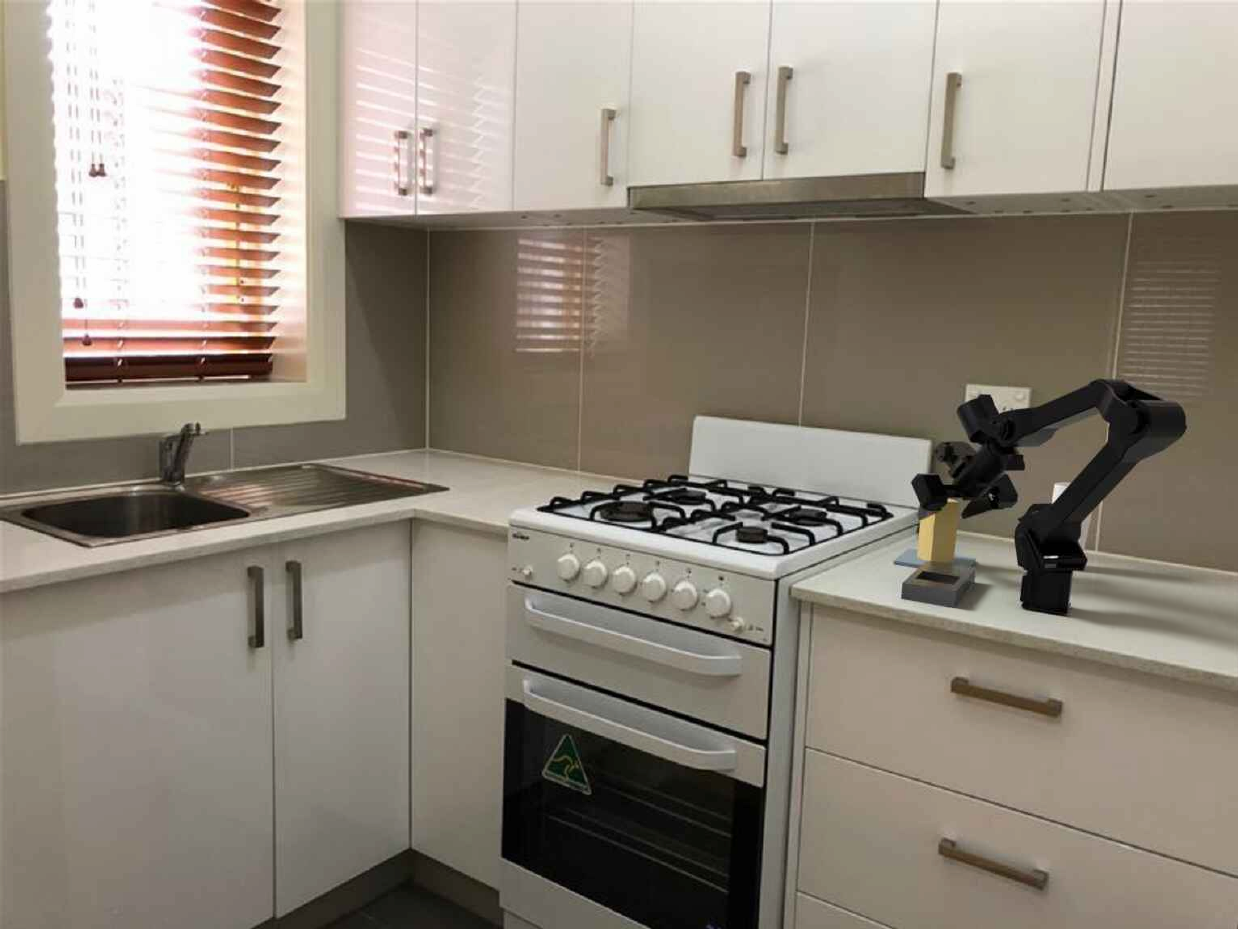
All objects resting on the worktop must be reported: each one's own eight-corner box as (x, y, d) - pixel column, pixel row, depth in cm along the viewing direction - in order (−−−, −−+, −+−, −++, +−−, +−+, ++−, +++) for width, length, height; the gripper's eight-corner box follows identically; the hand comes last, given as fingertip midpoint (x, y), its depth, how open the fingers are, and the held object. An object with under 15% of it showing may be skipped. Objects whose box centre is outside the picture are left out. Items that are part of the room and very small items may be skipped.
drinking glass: (1043, 567, 179) (1052, 485, 177) (1046, 560, 185) (1055, 480, 182) (1084, 573, 176) (1094, 490, 173) (1086, 565, 182) (1096, 485, 179)
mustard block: (953, 562, 177) (959, 502, 175) (930, 562, 176) (936, 502, 174) (939, 556, 181) (945, 497, 180) (916, 556, 180) (922, 497, 179)
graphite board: (974, 582, 166) (976, 567, 166) (954, 607, 150) (955, 591, 150) (925, 574, 170) (927, 560, 169) (901, 598, 154) (902, 582, 154)
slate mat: (975, 561, 181) (975, 558, 181) (963, 575, 171) (963, 571, 170) (908, 551, 187) (909, 548, 187) (893, 563, 176) (893, 560, 176)
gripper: (1013, 428, 172) (967, 480, 184) (922, 427, 167) (880, 481, 179) (1041, 480, 166) (991, 530, 178) (947, 480, 160) (902, 533, 172)
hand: (941, 517), depth 177 cm, fingers open, 9 cm apart
